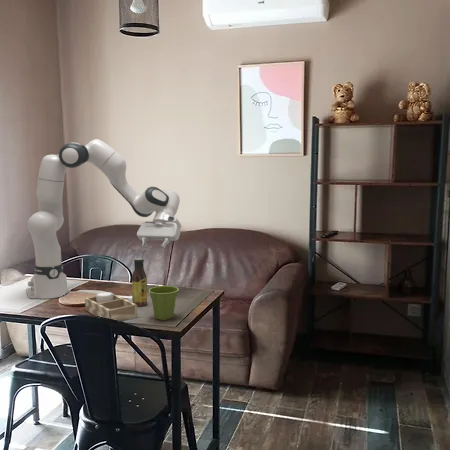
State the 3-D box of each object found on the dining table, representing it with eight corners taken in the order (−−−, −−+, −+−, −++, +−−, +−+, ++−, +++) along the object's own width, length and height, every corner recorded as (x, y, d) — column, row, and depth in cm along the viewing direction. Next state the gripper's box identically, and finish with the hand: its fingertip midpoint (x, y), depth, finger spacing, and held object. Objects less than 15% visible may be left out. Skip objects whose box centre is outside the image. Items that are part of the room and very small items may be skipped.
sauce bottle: (144, 307, 211) (143, 260, 208) (130, 306, 212) (128, 260, 209) (149, 302, 217) (148, 257, 214) (135, 302, 218) (134, 257, 215)
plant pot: (185, 318, 196) (184, 290, 195) (157, 324, 189) (157, 295, 188) (170, 310, 206) (169, 283, 204) (143, 316, 199) (142, 288, 197)
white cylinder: (109, 313, 203) (108, 296, 202) (93, 312, 204) (92, 295, 203) (116, 308, 210) (115, 292, 209) (101, 307, 211) (100, 291, 210)
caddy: (85, 309, 208) (84, 298, 207) (112, 304, 215) (111, 293, 214) (109, 323, 191) (108, 310, 190) (137, 317, 198) (137, 304, 197)
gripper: (140, 217, 231) (129, 242, 224) (179, 218, 224) (170, 243, 216) (146, 225, 236) (136, 250, 229) (184, 226, 228) (175, 251, 221)
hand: (153, 247), depth 222 cm, fingers open, 8 cm apart
